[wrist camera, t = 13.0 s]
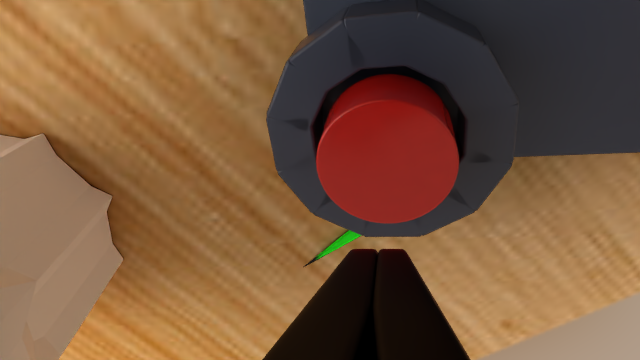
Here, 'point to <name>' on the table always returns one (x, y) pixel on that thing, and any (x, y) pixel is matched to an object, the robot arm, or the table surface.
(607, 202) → the table surface
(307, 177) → the panel
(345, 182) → the button
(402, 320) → the robot arm
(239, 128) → the table surface
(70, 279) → the cup
